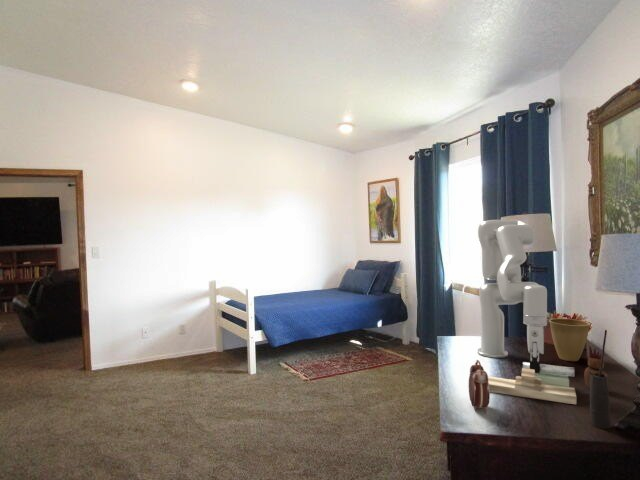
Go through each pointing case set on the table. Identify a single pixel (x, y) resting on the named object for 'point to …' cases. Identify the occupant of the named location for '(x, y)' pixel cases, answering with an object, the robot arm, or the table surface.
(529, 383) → the maple beam
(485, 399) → the alarm clock
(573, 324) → the plant pot
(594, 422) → the butter churn
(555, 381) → the block
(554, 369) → the steel axle
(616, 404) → the table surface
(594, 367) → the wooden figurine
